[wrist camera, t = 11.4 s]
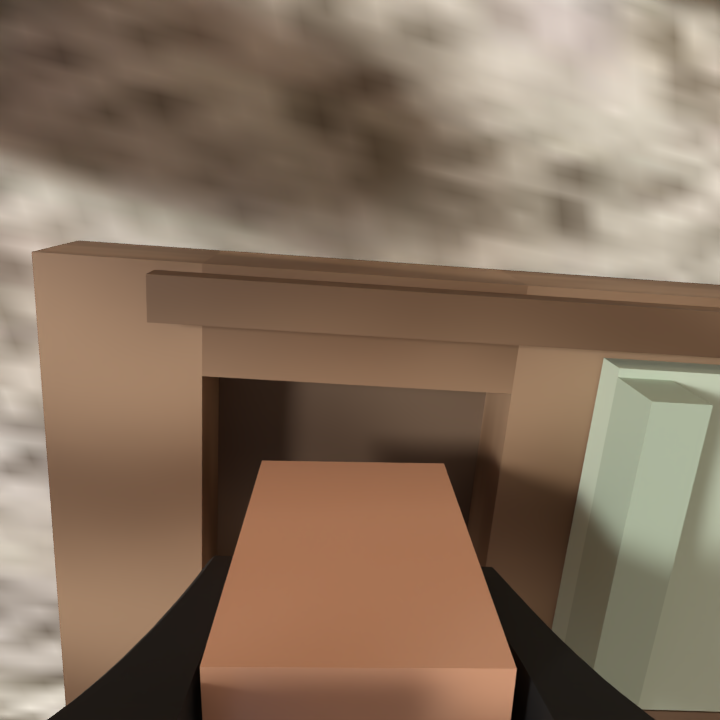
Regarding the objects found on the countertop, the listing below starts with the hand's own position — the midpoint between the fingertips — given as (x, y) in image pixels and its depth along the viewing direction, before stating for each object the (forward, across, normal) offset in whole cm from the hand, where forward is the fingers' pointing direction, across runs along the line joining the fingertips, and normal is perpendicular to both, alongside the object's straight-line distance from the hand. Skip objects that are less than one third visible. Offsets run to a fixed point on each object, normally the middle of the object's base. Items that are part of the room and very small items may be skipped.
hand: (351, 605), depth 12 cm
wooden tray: (+6, -4, 0) cm, 7 cm away
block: (+2, 0, 0) cm, 2 cm away
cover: (+3, -9, 0) cm, 10 cm away
